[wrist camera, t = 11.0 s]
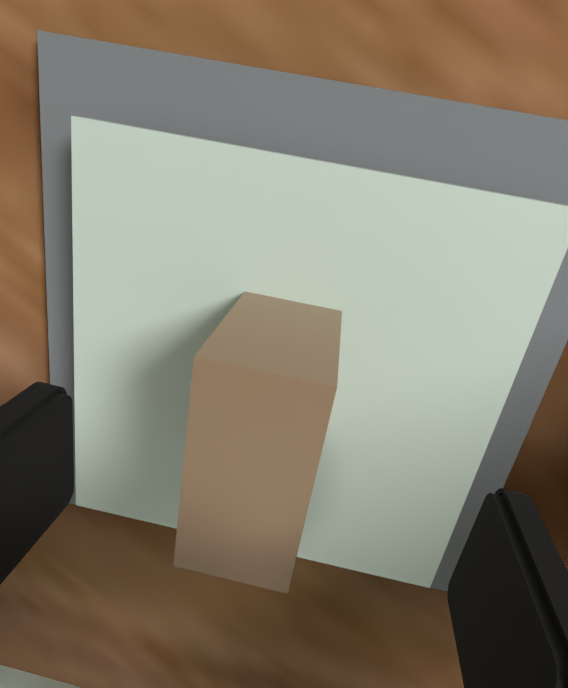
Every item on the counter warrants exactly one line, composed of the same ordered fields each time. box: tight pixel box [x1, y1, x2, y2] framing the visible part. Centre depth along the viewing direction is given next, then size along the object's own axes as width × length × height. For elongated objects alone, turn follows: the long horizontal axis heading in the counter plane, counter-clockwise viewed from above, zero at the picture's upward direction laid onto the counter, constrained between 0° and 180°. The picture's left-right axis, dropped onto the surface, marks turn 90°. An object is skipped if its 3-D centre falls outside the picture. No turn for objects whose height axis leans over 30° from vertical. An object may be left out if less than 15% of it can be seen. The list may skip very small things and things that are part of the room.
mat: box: [37, 30, 568, 591], centre depth 17 cm, size 18×18×1 cm
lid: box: [71, 116, 568, 594], centre depth 14 cm, size 14×14×7 cm
